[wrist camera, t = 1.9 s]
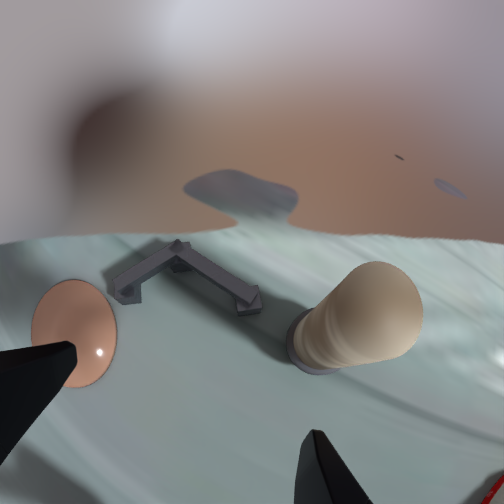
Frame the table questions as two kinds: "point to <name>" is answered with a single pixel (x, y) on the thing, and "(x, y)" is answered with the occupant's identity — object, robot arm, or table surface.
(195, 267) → the grey angled bracket
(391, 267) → the birch ring post
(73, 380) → the terracotta coaster
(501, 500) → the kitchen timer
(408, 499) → the table surface
